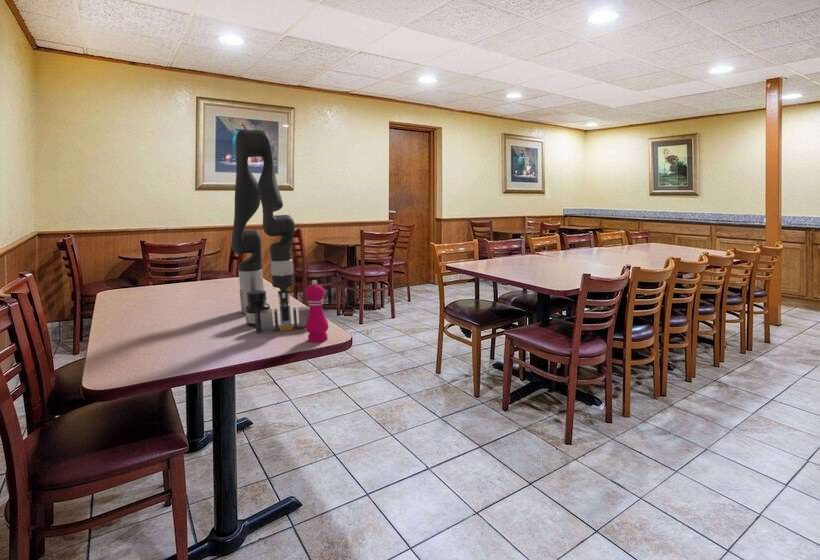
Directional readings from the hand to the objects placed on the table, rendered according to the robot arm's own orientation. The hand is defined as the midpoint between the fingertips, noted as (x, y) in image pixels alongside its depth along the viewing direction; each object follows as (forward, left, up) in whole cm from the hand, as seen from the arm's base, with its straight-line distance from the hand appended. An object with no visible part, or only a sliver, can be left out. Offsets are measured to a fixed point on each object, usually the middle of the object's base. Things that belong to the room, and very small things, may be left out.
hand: (285, 317), depth 174 cm
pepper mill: (+10, -17, -4) cm, 20 cm away
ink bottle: (-10, +11, -4) cm, 15 cm away
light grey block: (0, 0, -3) cm, 3 cm away
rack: (0, 0, -4) cm, 4 cm away
